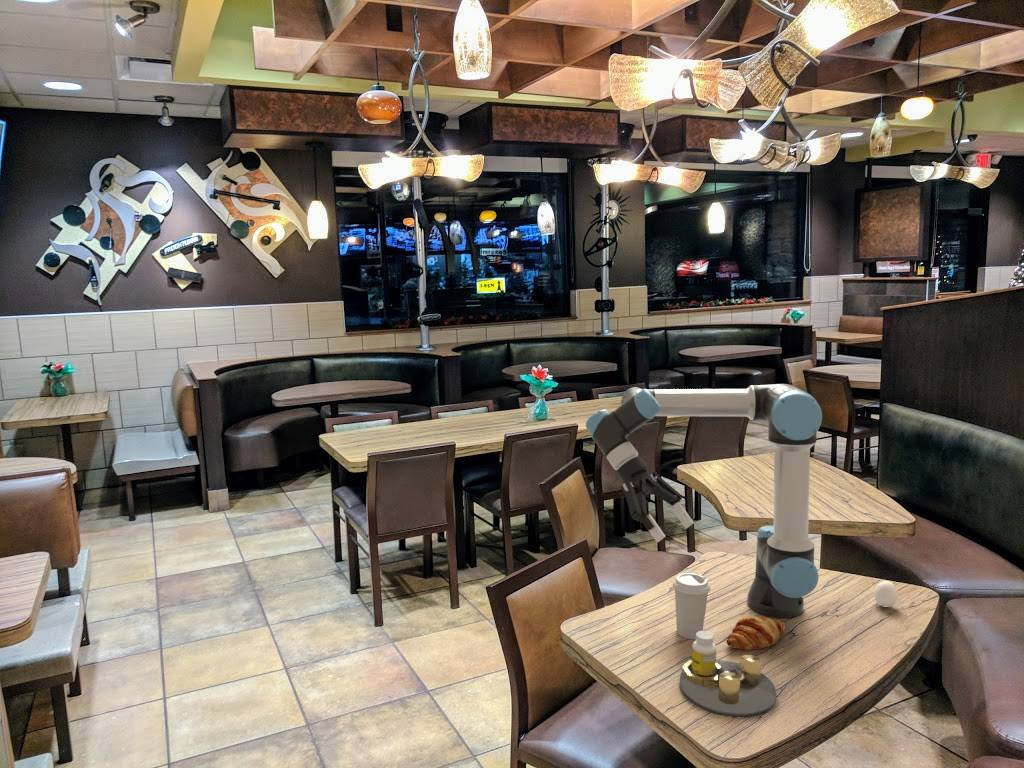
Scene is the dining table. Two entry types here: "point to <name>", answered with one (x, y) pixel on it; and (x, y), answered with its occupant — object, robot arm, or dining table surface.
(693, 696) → the carrier plate
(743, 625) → the croissant
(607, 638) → the dining table surface
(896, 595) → the egg
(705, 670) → the supplement bottle
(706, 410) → the robot arm
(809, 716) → the dining table surface
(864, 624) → the dining table surface
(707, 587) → the coffee cup
